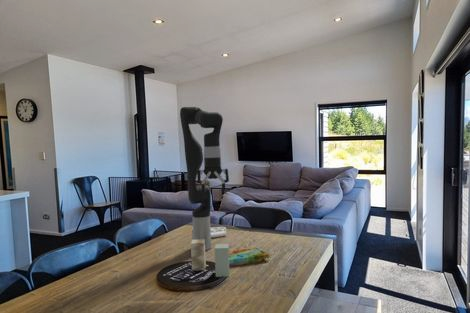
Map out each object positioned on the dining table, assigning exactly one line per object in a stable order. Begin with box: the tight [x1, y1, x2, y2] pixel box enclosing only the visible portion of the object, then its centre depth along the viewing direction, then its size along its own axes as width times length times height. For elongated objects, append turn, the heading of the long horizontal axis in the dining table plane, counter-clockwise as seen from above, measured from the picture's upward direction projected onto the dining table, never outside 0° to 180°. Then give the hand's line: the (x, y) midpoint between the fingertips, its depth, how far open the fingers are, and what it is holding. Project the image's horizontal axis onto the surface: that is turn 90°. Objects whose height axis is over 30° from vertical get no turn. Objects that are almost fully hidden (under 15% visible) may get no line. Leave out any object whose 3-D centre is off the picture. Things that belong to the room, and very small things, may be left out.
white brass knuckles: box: [210, 226, 227, 239], centre depth 204 cm, size 3×18×15 cm
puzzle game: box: [229, 246, 270, 267], centre depth 158 cm, size 12×5×20 cm
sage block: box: [214, 243, 230, 278], centre depth 142 cm, size 6×6×12 cm
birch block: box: [190, 239, 207, 271], centre depth 150 cm, size 6×6×12 cm
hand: (213, 191), depth 155 cm, fingers open, 8 cm apart
